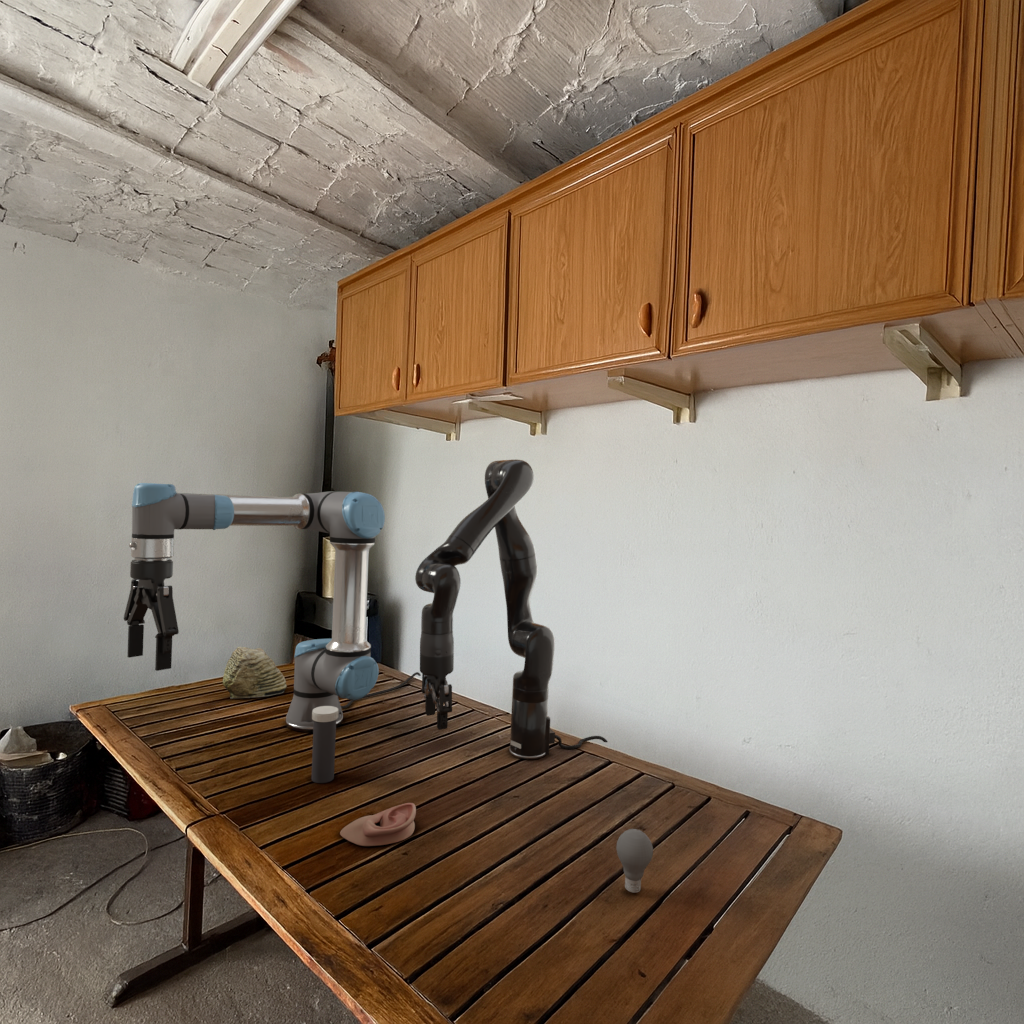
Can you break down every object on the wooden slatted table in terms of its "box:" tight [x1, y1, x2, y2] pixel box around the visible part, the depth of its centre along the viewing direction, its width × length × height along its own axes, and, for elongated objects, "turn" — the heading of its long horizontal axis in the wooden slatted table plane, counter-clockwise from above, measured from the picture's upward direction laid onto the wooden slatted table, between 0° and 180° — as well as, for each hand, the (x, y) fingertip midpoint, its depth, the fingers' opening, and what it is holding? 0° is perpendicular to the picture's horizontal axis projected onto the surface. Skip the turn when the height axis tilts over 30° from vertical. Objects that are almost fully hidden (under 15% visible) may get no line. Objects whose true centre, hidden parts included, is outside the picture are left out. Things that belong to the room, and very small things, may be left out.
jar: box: [311, 720, 337, 784], centre depth 142 cm, size 5×5×15 cm
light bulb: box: [615, 828, 654, 894], centre depth 106 cm, size 6×6×10 cm
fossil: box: [222, 646, 288, 699], centre depth 198 cm, size 9×18×15 cm, turn 132°
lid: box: [312, 706, 339, 722], centre depth 142 cm, size 6×6×2 cm
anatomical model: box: [339, 802, 417, 847], centre depth 121 cm, size 13×4×12 cm
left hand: (148, 662), depth 129 cm, fingers open, 13 cm apart
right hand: (436, 721), depth 142 cm, fingers open, 8 cm apart
